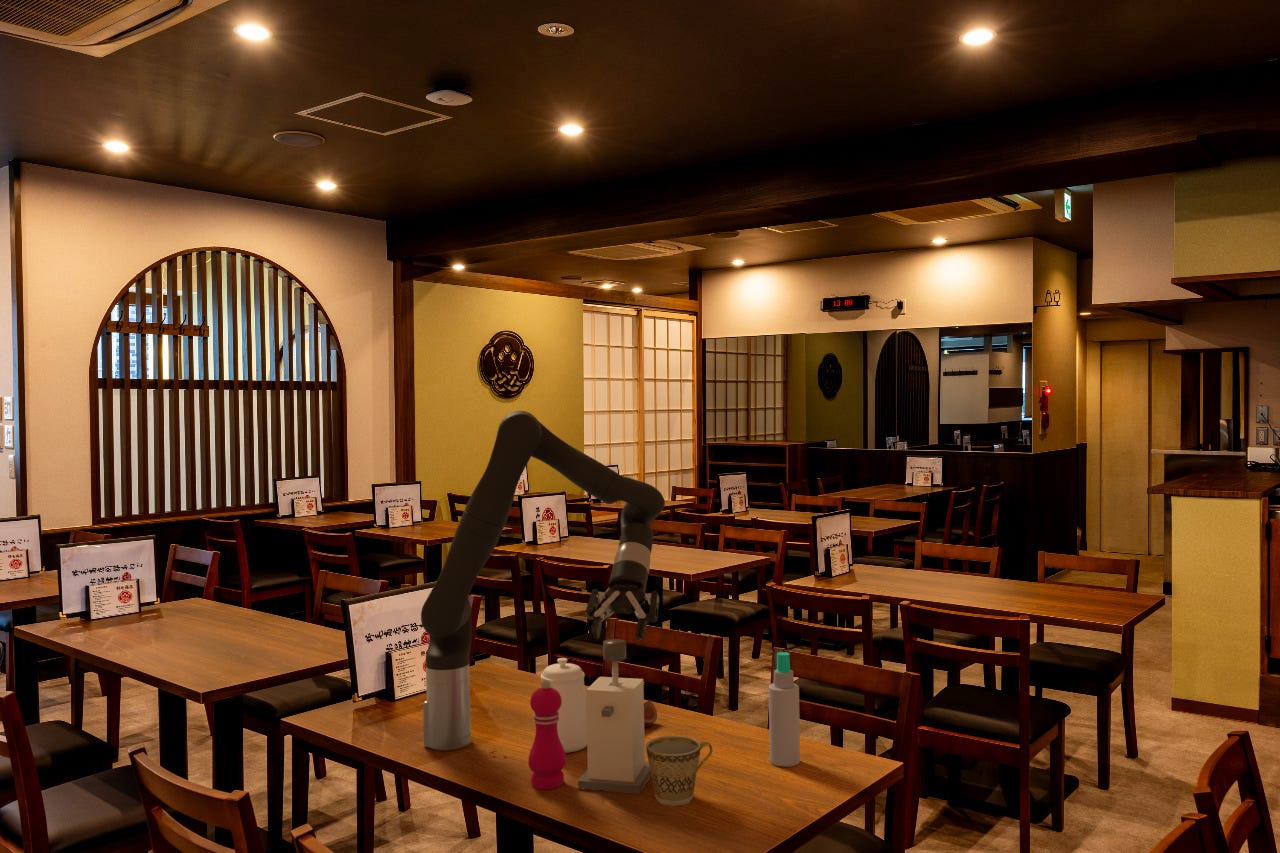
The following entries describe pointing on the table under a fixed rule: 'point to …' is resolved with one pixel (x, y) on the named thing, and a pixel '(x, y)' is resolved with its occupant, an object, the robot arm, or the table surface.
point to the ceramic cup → (674, 767)
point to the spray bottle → (784, 715)
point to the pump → (614, 655)
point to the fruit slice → (649, 713)
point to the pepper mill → (546, 739)
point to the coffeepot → (569, 703)
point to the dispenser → (615, 737)
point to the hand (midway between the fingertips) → (616, 637)
